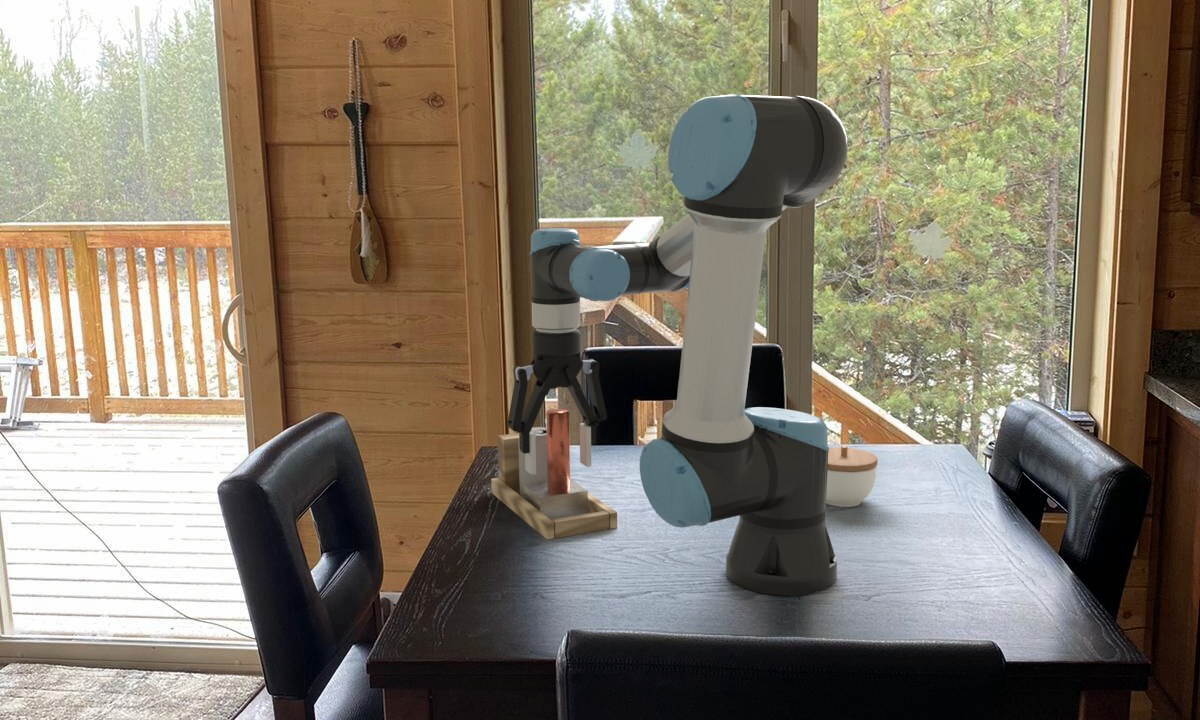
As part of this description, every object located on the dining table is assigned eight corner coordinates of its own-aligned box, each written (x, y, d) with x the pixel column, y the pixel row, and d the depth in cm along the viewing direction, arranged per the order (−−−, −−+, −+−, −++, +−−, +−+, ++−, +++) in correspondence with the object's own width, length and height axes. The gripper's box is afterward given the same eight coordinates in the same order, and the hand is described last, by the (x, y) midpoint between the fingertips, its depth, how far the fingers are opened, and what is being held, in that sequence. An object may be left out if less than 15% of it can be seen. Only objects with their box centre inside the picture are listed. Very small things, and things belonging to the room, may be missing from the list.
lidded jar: (870, 491, 190) (873, 438, 188) (880, 512, 179) (882, 456, 178) (807, 490, 191) (808, 437, 189) (812, 511, 180) (814, 455, 179)
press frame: (617, 527, 174) (616, 465, 172) (546, 539, 169) (545, 476, 167) (555, 483, 196) (554, 428, 194) (491, 492, 191) (490, 436, 189)
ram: (587, 514, 179) (586, 411, 176) (540, 522, 176) (538, 417, 172) (570, 501, 185) (569, 402, 182) (524, 509, 182) (522, 407, 179)
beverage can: (556, 506, 184) (555, 435, 182) (518, 506, 184) (516, 435, 182) (559, 493, 190) (557, 425, 188) (521, 493, 190) (519, 425, 188)
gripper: (608, 319, 181) (609, 453, 185) (482, 330, 172) (486, 470, 177) (629, 326, 174) (629, 465, 179) (499, 338, 165) (502, 483, 170)
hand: (558, 468), depth 178 cm, fingers open, 9 cm apart
